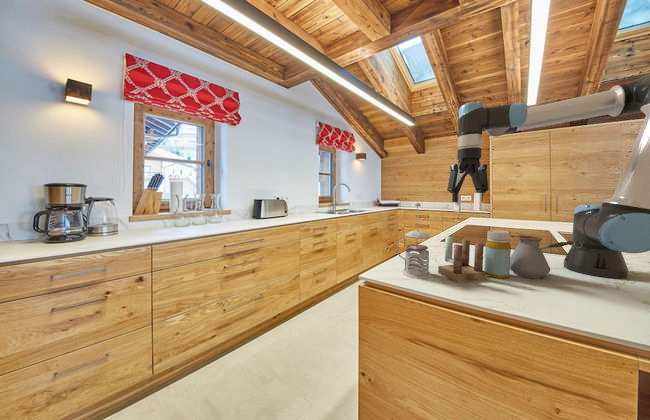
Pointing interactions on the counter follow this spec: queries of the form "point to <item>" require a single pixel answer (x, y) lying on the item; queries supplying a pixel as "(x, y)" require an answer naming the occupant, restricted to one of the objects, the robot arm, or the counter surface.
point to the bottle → (497, 254)
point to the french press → (416, 255)
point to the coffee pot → (532, 257)
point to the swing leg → (449, 249)
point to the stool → (465, 264)
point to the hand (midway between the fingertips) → (467, 210)
